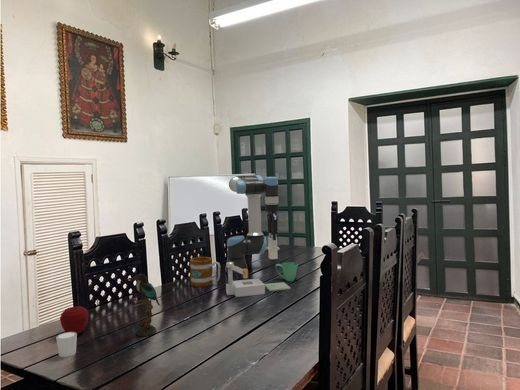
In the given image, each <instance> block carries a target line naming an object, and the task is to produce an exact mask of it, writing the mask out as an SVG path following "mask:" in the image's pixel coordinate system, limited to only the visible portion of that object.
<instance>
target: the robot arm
mask: <svg viewBox="0 0 520 390" xmlns="http://www.w3.org/2000/svg"><path fill="white" fill-rule="evenodd" d="M228 188H229V189H230V190H231V191H232V192H234V193H236V194H238V195H245V197H247V211H248V212H247V215H248V216H247V217H248V233H247V234H246V237H245V236H244V235H235V236H230V237H229V238H228V239H227V240H226V246H227V247H226V248H227V260H226V263H227V262H234V266H237V267H239V268H241V269H245V268H246V269H248V265H247V261H246V256H247V255H259V254H260V255H263V254H265V252H266V250H267V249H266V247H268V246H267V245H268V240H267V237H266V236H265V235H264V233H263V231H262V215H261V213H262V210H261V209H262V208H261V197H262V195H263V194H264V199H263V200H264V201H265V203H264V204H265V205H264V206H265V207H264V208H265V212H268V214H266V217H267V232H268V235H271V244H272V246H277V247H278V243H277V244H276V236H277V234H278V215H277V214H276V212H278V211H279V208H280V207H279V178H278V177H277V176H265V177H264V179H263V177H262V176H261V175H257V174H253V175H252V174H251V175H250V174H249V175H248V174H247V175H236V176H233V177H232V178H230V180H229V181H228ZM248 270H249V269H248ZM224 271H225V273H227V274H228V268H227V267H226V266H225V270H224ZM232 272H233V274H239V273H238V272H236V271H234V270H232Z"/></svg>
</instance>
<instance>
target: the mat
mask: <svg viewBox="0 0 520 390" xmlns="http://www.w3.org/2000/svg"><path fill="white" fill-rule="evenodd" d="M263 284H264V285H265V289H267V290H268V291H269V292H275V291H276V292H277V291H283V290H284V291H286V290H291V287H290V286H289V285H288V284H287V283H285V282H283V281H282V282H273V283H263Z"/></svg>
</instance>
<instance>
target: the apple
mask: <svg viewBox="0 0 520 390" xmlns="http://www.w3.org/2000/svg"><path fill="white" fill-rule="evenodd" d="M89 315H90V314H89V310H88V309H87V308H85V307H83V306H80V305H79V306H78V305H77V306H71V307H68V308H65V309H64V311H62V312H61V314H60V317H59V321H60V324H61V327H62V329H63V331H64V333H66V332H75V333H77V335H79V334H81V333H82V332H83V331H85V329H86V327H87V324H88V322H89V317H90V316H89Z"/></svg>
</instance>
